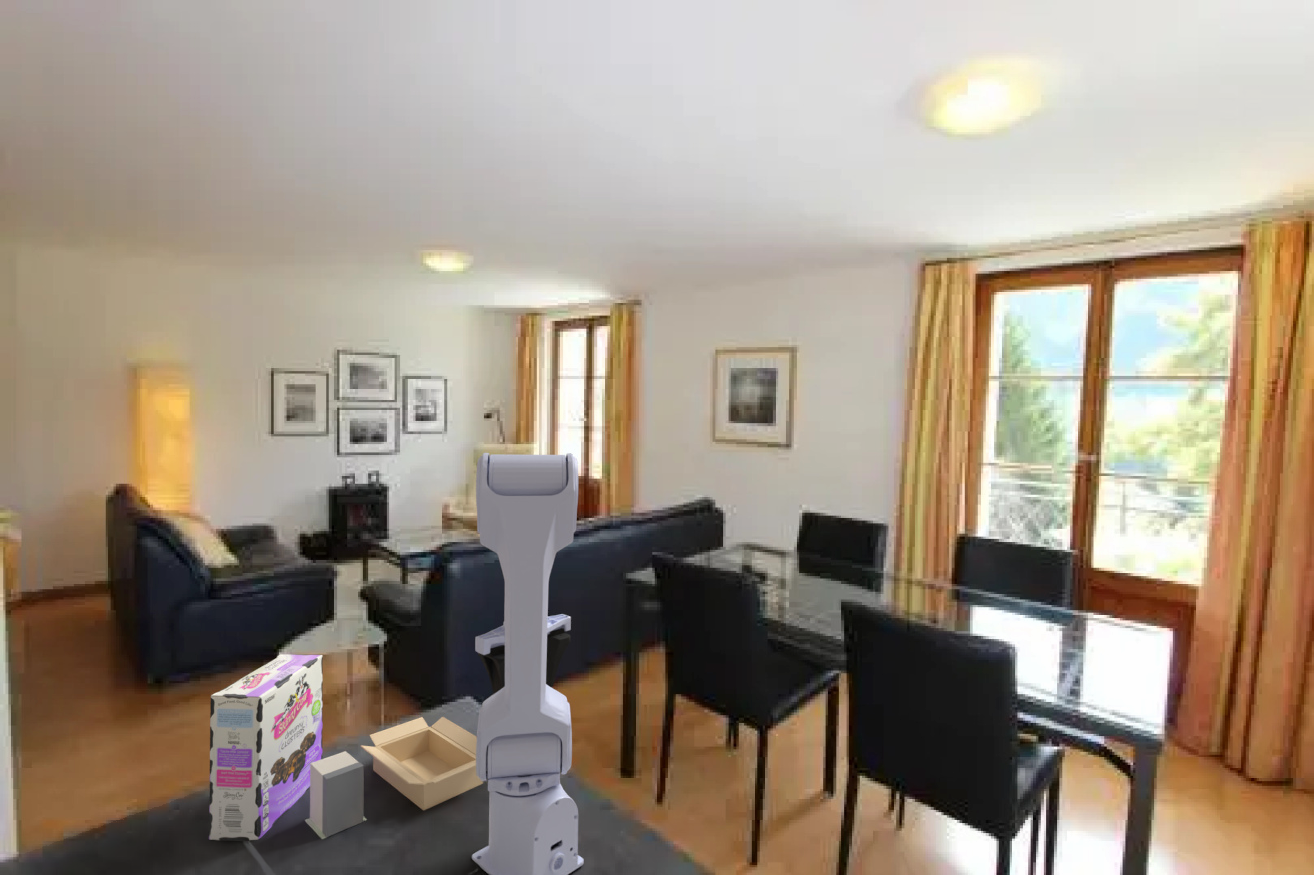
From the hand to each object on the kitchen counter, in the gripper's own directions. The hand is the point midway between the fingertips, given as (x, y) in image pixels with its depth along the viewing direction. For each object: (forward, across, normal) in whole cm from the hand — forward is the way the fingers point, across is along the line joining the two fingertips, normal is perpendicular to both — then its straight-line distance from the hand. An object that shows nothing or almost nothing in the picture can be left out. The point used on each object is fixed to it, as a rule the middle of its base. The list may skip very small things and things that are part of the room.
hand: (524, 693), depth 90 cm
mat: (+10, +23, -5) cm, 26 cm away
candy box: (+10, +27, -14) cm, 32 cm away
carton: (+10, +11, -6) cm, 16 cm away
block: (+10, +23, -5) cm, 25 cm away
